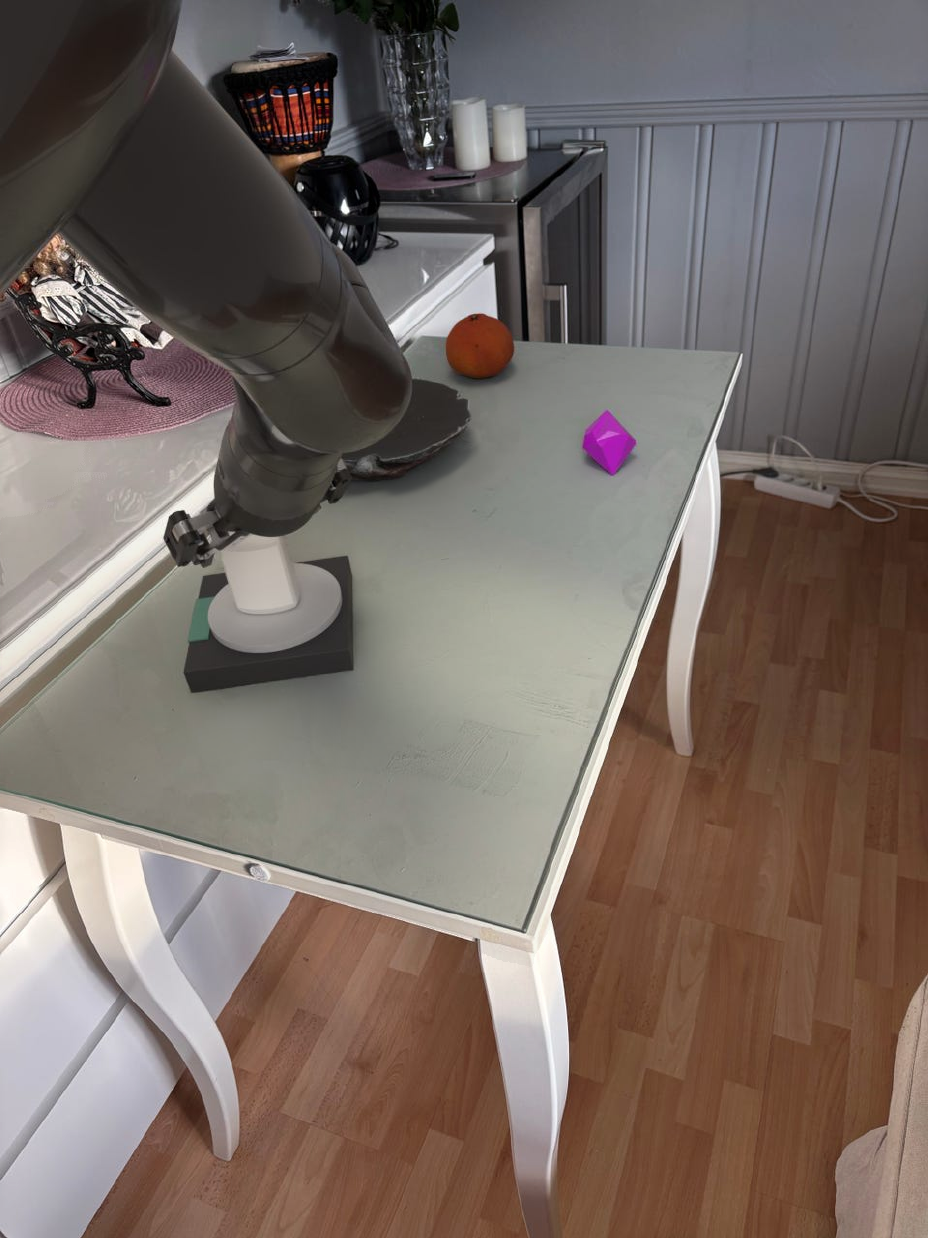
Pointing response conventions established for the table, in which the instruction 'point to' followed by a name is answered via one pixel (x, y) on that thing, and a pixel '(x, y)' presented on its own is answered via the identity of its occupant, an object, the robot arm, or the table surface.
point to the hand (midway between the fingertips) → (248, 535)
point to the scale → (272, 631)
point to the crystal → (608, 442)
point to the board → (413, 433)
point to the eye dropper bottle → (261, 575)
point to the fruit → (479, 346)
